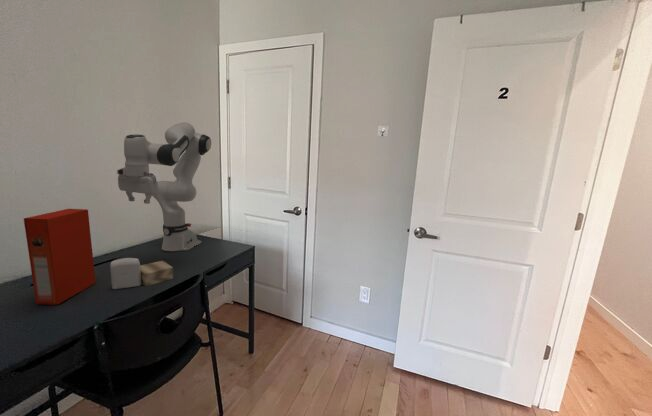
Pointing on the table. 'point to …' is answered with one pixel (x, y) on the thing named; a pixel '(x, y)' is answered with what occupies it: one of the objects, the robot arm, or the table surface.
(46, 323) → the table surface
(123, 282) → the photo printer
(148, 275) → the oak box
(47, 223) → the file binder
